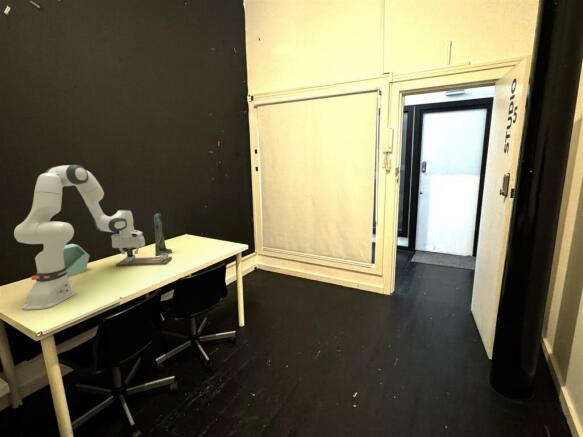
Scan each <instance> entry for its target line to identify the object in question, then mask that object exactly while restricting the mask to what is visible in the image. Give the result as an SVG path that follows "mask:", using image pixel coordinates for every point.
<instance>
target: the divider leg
mask: <svg viewBox="0 0 583 437" xmlns="http://www.w3.org/2000/svg"><path fill="white" fill-rule="evenodd" d="M133 249H134V248H126V249H125V250H126V251H125V252H126V256H125V257H124V258H126V262H127V263H128V262H130V261H133V260H135V258H136V254H134V250H133Z"/></svg>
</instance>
